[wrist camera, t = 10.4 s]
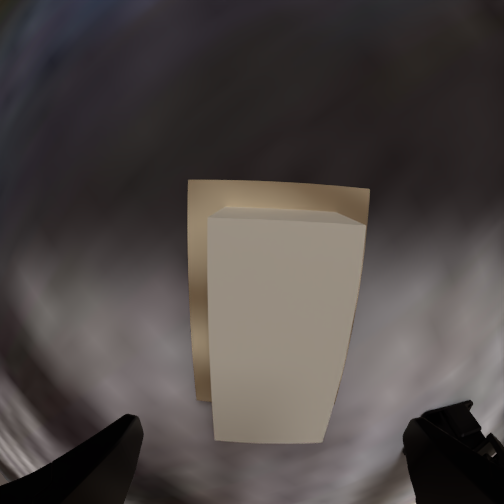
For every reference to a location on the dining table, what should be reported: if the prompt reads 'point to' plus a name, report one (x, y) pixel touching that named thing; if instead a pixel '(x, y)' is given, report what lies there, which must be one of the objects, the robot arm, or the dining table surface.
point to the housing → (279, 319)
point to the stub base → (255, 196)
